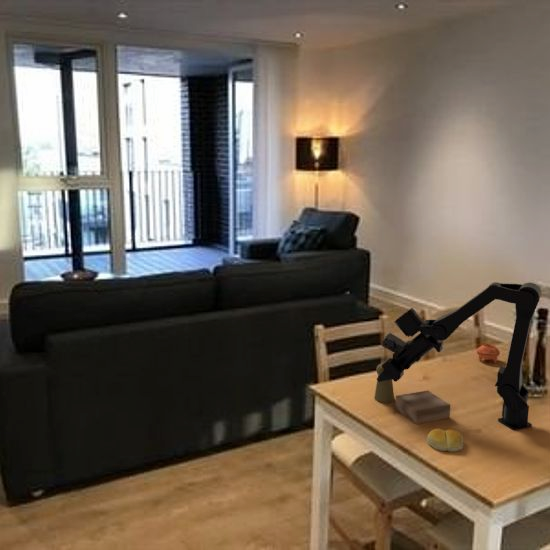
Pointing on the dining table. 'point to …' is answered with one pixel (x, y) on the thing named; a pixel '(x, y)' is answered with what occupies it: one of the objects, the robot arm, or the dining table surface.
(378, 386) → the cork
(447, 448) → the bread roll
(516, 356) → the robot arm
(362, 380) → the dining table surface
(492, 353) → the pot
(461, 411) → the dining table surface
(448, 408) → the walnut block
